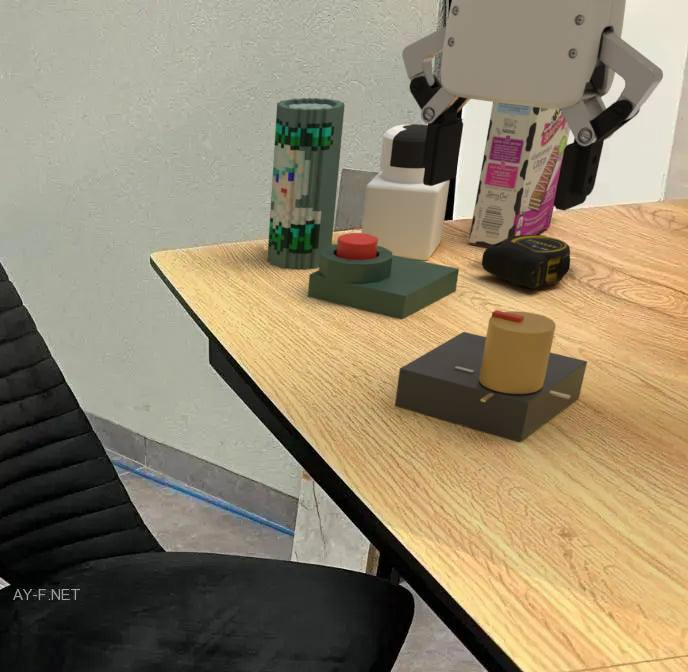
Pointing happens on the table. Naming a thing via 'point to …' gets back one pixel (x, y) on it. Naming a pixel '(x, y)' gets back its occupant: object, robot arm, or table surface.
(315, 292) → the button block
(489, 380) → the lock knob
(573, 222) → the table surface
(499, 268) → the tape measure
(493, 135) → the candy bar box
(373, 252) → the button
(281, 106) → the can
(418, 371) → the plate
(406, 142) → the medicine bottle
